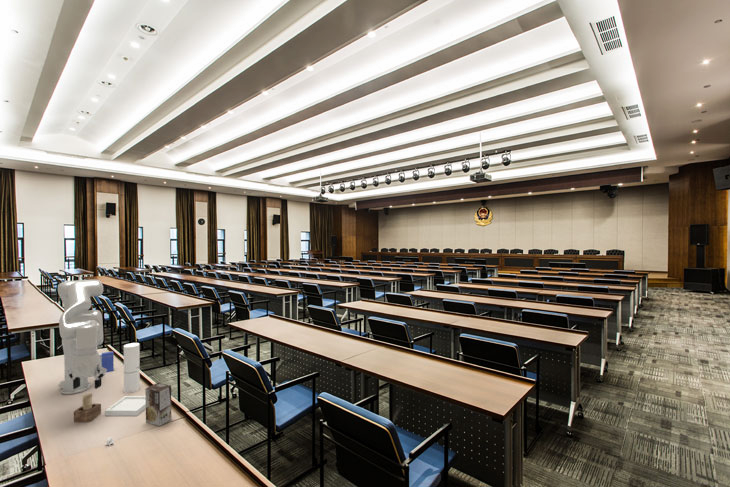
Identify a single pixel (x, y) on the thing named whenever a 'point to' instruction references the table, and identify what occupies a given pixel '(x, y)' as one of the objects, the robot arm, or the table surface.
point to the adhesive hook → (109, 441)
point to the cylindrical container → (131, 367)
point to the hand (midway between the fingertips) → (87, 387)
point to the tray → (127, 406)
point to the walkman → (107, 361)
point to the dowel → (87, 401)
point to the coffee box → (158, 404)
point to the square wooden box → (87, 413)
